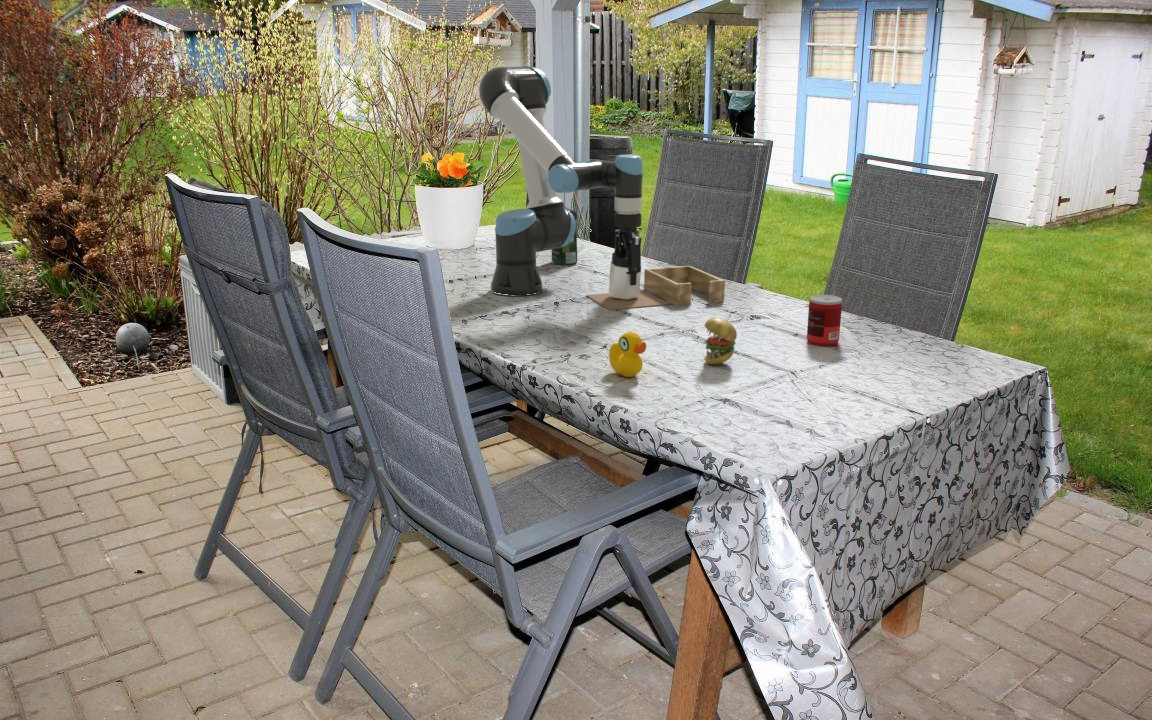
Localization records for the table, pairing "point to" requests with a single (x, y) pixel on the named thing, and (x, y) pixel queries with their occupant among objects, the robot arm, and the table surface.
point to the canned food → (824, 320)
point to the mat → (627, 301)
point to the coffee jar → (567, 248)
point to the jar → (620, 277)
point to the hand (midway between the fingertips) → (626, 293)
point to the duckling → (627, 354)
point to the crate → (682, 284)
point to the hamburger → (720, 340)
